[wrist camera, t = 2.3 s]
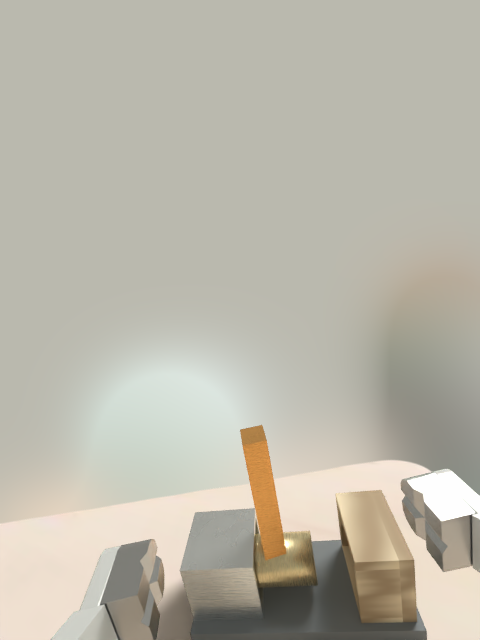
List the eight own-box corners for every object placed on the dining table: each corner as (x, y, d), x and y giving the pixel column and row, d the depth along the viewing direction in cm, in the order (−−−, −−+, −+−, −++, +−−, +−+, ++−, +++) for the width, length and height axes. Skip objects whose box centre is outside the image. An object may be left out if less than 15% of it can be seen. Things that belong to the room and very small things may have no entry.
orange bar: (201, 600, 25) (161, 459, 22) (208, 557, 28) (176, 429, 25) (319, 597, 24) (297, 446, 20) (312, 551, 27) (292, 416, 24)
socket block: (361, 623, 22) (354, 562, 21) (341, 545, 28) (335, 493, 27) (417, 621, 22) (414, 559, 20) (385, 542, 28) (381, 490, 26)
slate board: (193, 643, 24) (190, 634, 23) (209, 554, 30) (207, 547, 30) (426, 640, 21) (426, 630, 21) (388, 545, 28) (387, 537, 28)
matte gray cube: (194, 620, 24) (179, 570, 23) (206, 556, 29) (195, 512, 28) (263, 618, 24) (252, 567, 22) (263, 553, 29) (254, 508, 27)
